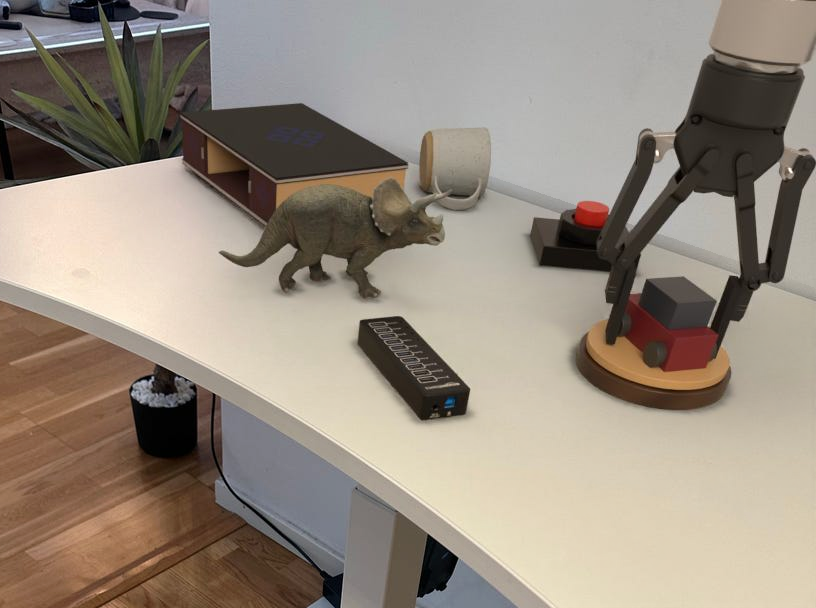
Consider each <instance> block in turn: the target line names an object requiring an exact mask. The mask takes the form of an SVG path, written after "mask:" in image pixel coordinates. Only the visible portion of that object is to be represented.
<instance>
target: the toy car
mask: <svg viewBox="0 0 816 608" xmlns="http://www.w3.org/2000/svg"><path fill="white" fill-rule="evenodd" d="M717 302H718V301H717V299H715V298H714V297H713V296H711V295H710V294H709V293H707V292H706V291H705V290H703V289H702V288H701V287H699V286H697V284H695V283H694V282H692V281H691V280H690V279H688V278H687V277H686V276H684V275H683V276H668V277H667V276H665V277H652V278H646V279H645V281H644V285H643V287H642V290H641V292H637V293H630V296H629V299H628V303H627V306H626V309H625V312H624V316H623V319H622V322H621V326H620V329H619V332H618V335H617V339H616V342H615V344H609V343H606V333H605V330H606V326H607V323H608V319H609V318H605V319H603V320H600V321H598V322H596V323H595V324H593V325H592V327H590V329H589V330H588V331H589V332H588V331H587V332H588V336H587V339H586V348H587V351H588V353H589V354H590V356H591V357H592V358H593V359H594V360H595V361H596V362H597V363H598V364H599V365H601V366H602V367H604V368H605V369H607V370H609V371H610V372H612V373H614V374H616V375H618V376H620V377H623V378H625V379H628V380H630V381H633V382H636V383H640V384H644V385H647V386H652V387H657V388H664V389H673V390H694V389H701V388H706V387H710V386H712V385H715V384H717V383H718V382H720V381H721V380H722V379H723V378H724V377H725V375H726V373H727V371H728V368H729V365H730V366H731V361H730V357H729V356H730V355H729V354H728V352H727V351H726V349H725V348H724V347H723V346H722V345H721V346H720V349H719V351H718V354H717V356H716V359H714V357H715V355H716V352H717V345H716V340H717V338H718V334H717V333H716V332H714V331H713V330H712V329H710V326H709V323H710V320H711V318H712V315H713V313H714V310H715V307H716V305H717Z"/></svg>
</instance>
